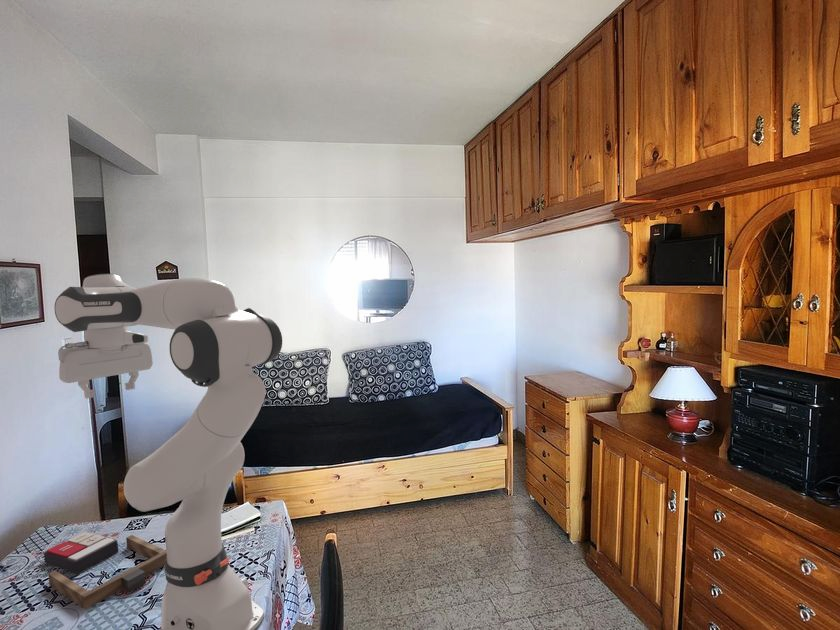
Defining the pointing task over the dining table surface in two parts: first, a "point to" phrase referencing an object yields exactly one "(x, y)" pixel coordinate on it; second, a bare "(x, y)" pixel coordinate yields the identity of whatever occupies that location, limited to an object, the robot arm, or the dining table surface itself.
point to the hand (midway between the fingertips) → (110, 393)
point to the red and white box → (81, 552)
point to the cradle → (122, 581)
